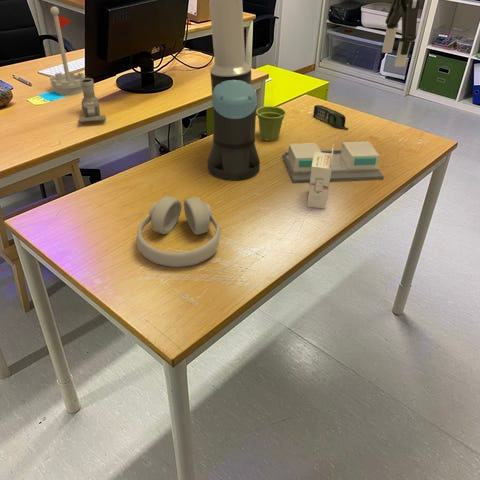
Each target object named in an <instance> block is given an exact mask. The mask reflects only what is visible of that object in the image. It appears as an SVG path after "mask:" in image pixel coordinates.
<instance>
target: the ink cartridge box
mask: <svg viewBox="0 0 480 480" xmlns="http://www.w3.org/2000/svg"><path fill="white" fill-rule="evenodd" d="M334 147H335V145H334V142H333V143H332V148H331V149H332V154H331V153H322V152H314V156H313V161H312V167H311V177H310V182H309V189H308V197H307V205H306V206H307V208H315V209H324V210H325V209H326V207H327V201H328V194H329V188H330V176H331V168H332V160H333V149H335V148H334Z"/></svg>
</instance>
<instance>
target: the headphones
mask: <svg viewBox="0 0 480 480" xmlns="http://www.w3.org/2000/svg"><path fill="white" fill-rule="evenodd" d="M183 207H184V208H183V210H184V213H185V217H186V220H187V222H188V225H189V227H190V230H191V231H192V233H193V234H194V235H202V234H206V232H208V231H209V229H210V225H211V223H212V225H213V226H214V228H215V233H214V235H213V236H212V238H210V239H209V240H208V241H207V242H206V243H205V244H203V245H201V246H199V247H197V248H194V249H190V250H188V251H181V252H173V251H172V252H170V251H165V250H161V249H158V248H156V247H154V246H152V245H150V244H149V243H148V242H147V241H146V240H145V239H144V237H143V230H144V229H145V227H146V226H147V225H148V224H149V223H150V225H151V228H152V230H153V231H154V232H155V233H159V234H162V235H168V234H170V232H172V230H173V229H175V227H176V225H177V223H178V222H179V219H180V217H181V216H180V215H181V214H182V202H181V200H180V199H178V198H175V197H173V196H167V195H166V196H163V197H162V198H161V199H160V200H159V201H155V202H154V203H153V204H152V206H150V209H149V212H148V215H147V216H146V217H145V218H144V219H143V220H141V222H140V223H139V225H138V228H137V233H136V246H137V248H138V250H139V252H140V253H141V255H142V256H144V258H146V259H147V260H149V261H151V262H152V263H153V264H156V265H161V266H164V267H170V268H183V267H184V268H185V267H189V266H194V265H198V264H200V263H202V262H205V261H206V260H208V259H210V258H211V257H212V256H214V254H215V253H216V251H217V249H218V246H219V242H220V234H221V227H220V225H219V223H218V221H216V219H215V218H214V215H213V210H212V208H211V206H210V204H209V203H208V202H203V200H202V199H201V198H200V197H198V196H193V197H190V198H189V197H188V198H186V199H184V201H183Z"/></svg>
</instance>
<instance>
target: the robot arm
mask: <svg viewBox="0 0 480 480" xmlns="http://www.w3.org/2000/svg"><path fill="white" fill-rule="evenodd" d="M208 1H209V2H208V3H209V13H210V24H211V34H212V35H211V37H212V47H213V59H214V64H213V65H212V67H211V68H210V71H209V72H210V74H209V75H210V83H211V103H212V104H211V105H212V139H213V140H212V145H211V148H210V151H209V154H208V156H207V162H206V163H207V164H206V166H207V171H208V172H209V174H210V175H212V176H213V177H216V178H217V179H218V178H219V179H222V180H227V181H243V180H248V179H250V178H252V177H255V176H256V175H257V174H258V173H259V171H260V168H261V167H260V166H261V165H260V163H261V162H260V157H259V154H258V150H257V146H256V143H255V142H256V140H255V139H256V120H257V117H256V115H257V113H256V111H257V105H258V96H257V91H256V89H255V87H254V86H253V82H252V81H253V80H252V66H251V65H250V64H249V63H247V61H246V50H245V30H244V29H245V28H244V11H243V10H244V8H243V0H208ZM420 1H421V0H392V2H391V5H390V8H389V10H388V13H387V16H386V19H385V25H386V31H385V35H384V41H383V45H382V50H381V53H385V54H387V53H388V54H389V53H390V54H392V52H393V49H394V45H395V39H396V35H397V30H398V28H399V23H400V20H401V37H400V38H399V39H398V41H399V43H398V48H397V51H396V57H395V61H394V67H396V68H404V67H406V63H407V61H408V55H409V52H410V47H411V44H412V42H415V41H416V38H417V37H416V36H417V23H418V13H419V8H420V7H419V6H420V4H421V3H420Z"/></svg>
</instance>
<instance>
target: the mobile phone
mask: <svg viewBox="0 0 480 480" xmlns="http://www.w3.org/2000/svg"><path fill="white" fill-rule="evenodd" d="M312 117H313V118H314V119H316V120H319V121H320V122H322V123H325V124H326V125H328V126H331V127H333V128H338V129H343V130H349V128H348V127H346V126H345V125H346V116H345V115H344V114H342V113H340V112H339V111H337V110H334V109H332V108H329V107H327V106H324V105H319V104H317V105H314V107H313V115H312Z"/></svg>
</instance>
